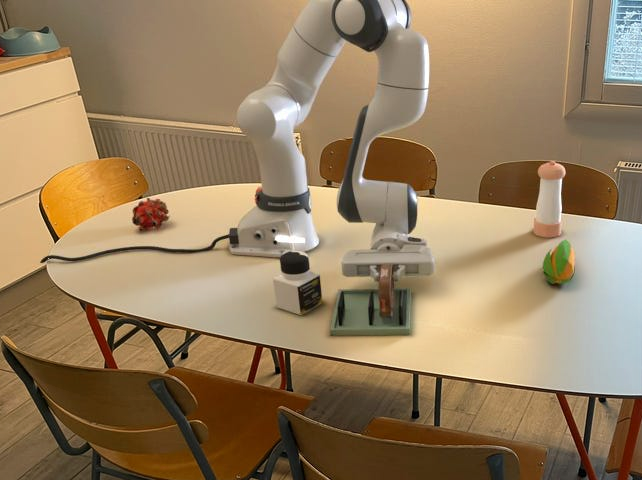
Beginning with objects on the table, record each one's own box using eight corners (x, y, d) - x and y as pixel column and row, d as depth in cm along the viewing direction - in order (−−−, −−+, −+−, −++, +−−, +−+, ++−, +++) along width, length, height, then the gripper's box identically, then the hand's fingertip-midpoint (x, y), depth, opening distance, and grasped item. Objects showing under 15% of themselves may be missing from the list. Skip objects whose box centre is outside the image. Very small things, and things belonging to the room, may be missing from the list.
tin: (391, 325, 151) (393, 288, 147) (376, 324, 151) (377, 287, 147) (394, 292, 164) (396, 257, 160) (380, 291, 164) (381, 256, 159)
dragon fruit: (173, 225, 206) (143, 246, 197) (149, 205, 205) (117, 225, 197) (180, 205, 199) (149, 226, 191) (155, 185, 199) (123, 205, 190)
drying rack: (330, 335, 149) (328, 314, 147) (338, 294, 165) (337, 274, 163) (409, 334, 150) (408, 313, 147) (410, 294, 166) (410, 273, 163)
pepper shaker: (565, 231, 199) (571, 160, 189) (553, 239, 193) (559, 167, 183) (540, 225, 202) (545, 155, 192) (528, 234, 197) (533, 162, 187)
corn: (542, 258, 164) (551, 226, 180) (537, 289, 168) (546, 255, 184) (575, 263, 162) (581, 230, 179) (570, 294, 167) (576, 259, 183)
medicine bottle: (301, 316, 157) (295, 263, 150) (276, 308, 160) (269, 256, 154) (323, 303, 162) (318, 252, 156) (298, 295, 165) (292, 245, 159)
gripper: (342, 240, 167) (336, 265, 155) (433, 239, 167) (434, 264, 156) (344, 266, 170) (339, 292, 158) (433, 264, 171) (434, 291, 159)
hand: (387, 278), depth 157 cm, fingers closed on tin, 2 cm apart
